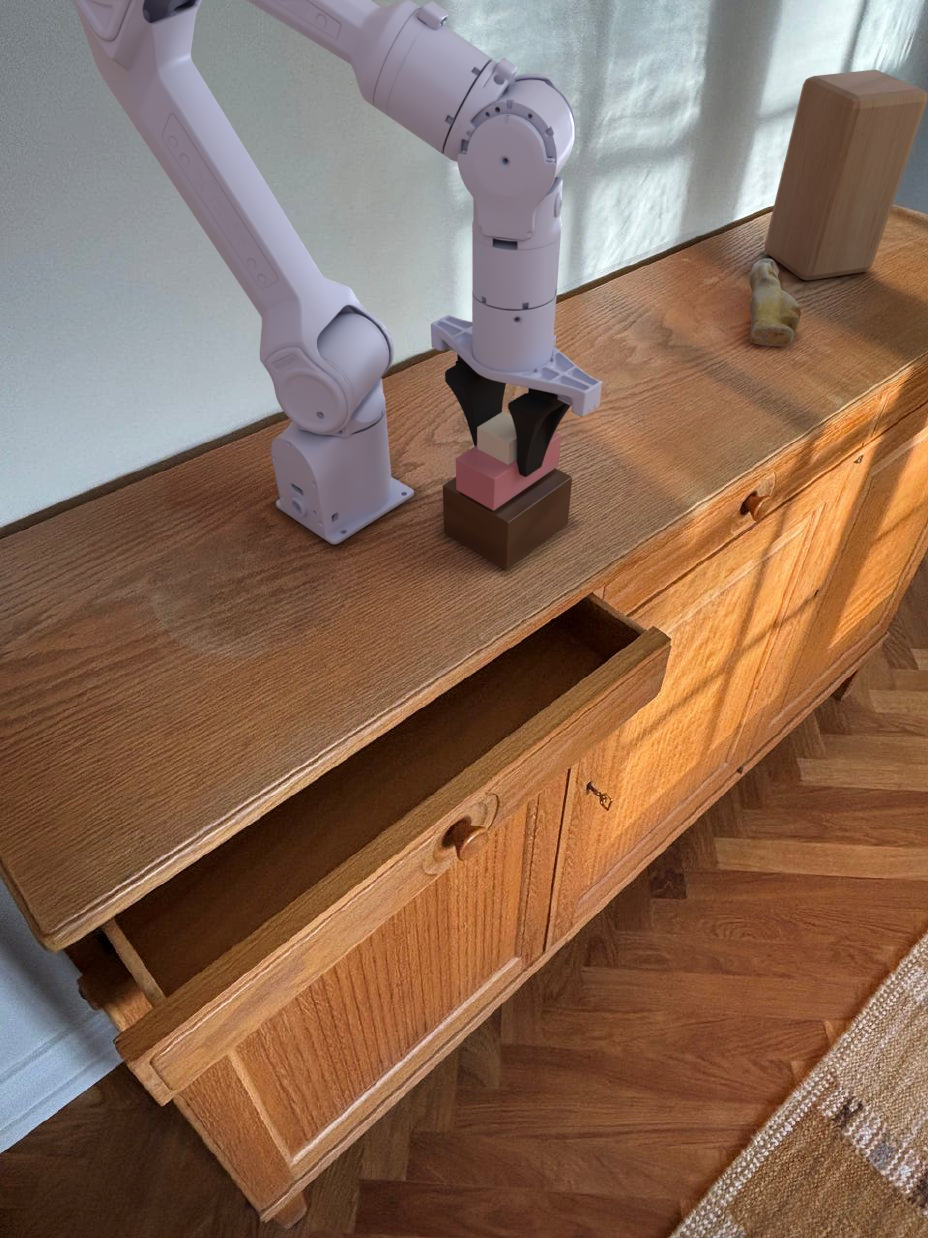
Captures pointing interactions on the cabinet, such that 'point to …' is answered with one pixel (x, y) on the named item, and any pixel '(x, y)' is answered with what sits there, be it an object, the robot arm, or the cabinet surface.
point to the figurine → (771, 307)
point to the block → (842, 171)
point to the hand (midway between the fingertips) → (508, 458)
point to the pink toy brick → (499, 464)
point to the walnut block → (509, 519)
